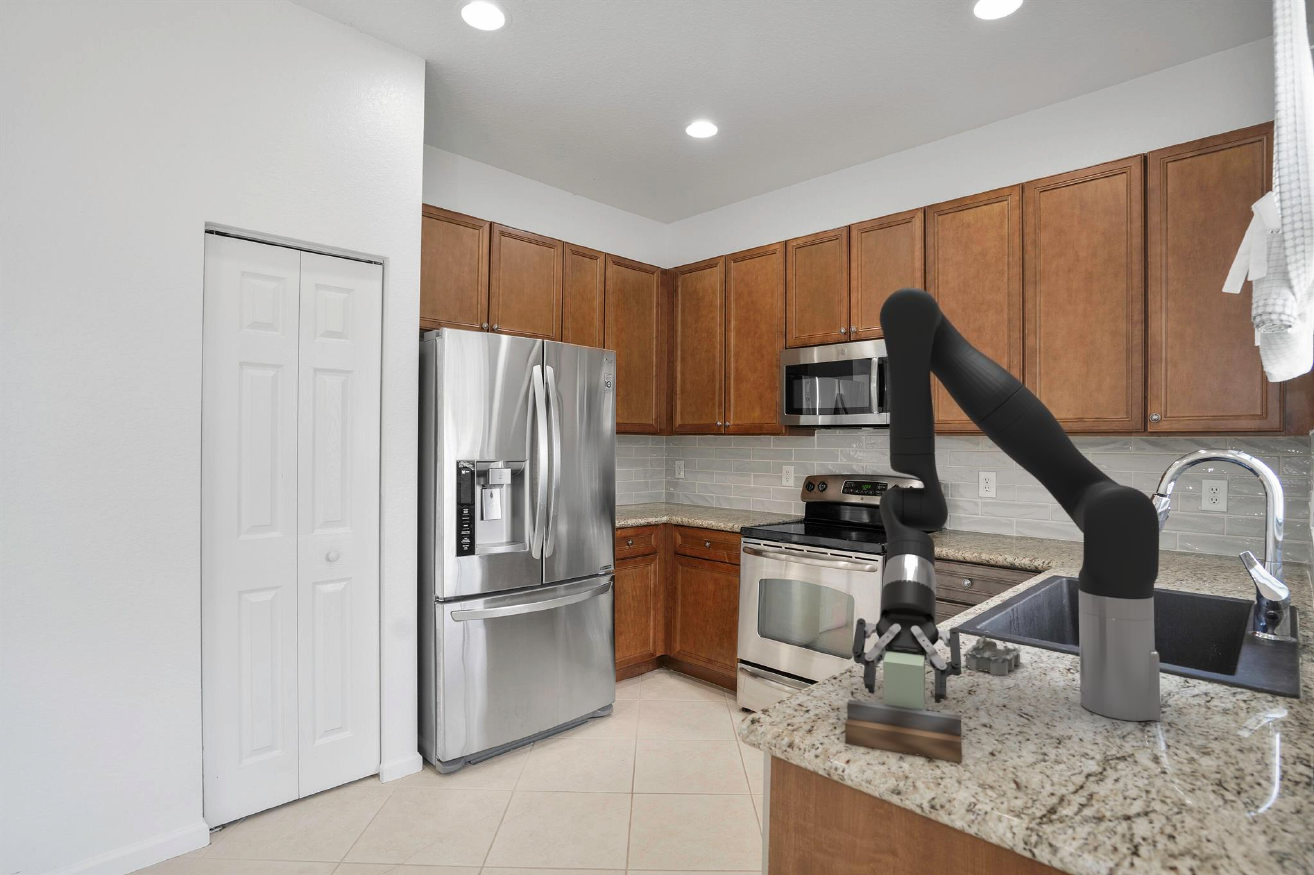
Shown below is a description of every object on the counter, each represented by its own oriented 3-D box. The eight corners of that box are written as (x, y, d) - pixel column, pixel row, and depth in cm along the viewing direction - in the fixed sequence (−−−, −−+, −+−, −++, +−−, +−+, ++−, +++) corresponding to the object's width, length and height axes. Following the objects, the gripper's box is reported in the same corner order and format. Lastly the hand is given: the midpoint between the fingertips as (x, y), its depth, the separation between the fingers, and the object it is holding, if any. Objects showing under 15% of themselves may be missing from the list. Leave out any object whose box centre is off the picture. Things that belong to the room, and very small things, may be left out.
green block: (925, 728, 92) (924, 655, 92) (924, 742, 88) (923, 666, 88) (887, 722, 94) (886, 650, 94) (883, 736, 90) (883, 661, 90)
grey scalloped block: (983, 656, 125) (983, 634, 126) (1027, 665, 120) (1026, 642, 120) (958, 668, 118) (958, 645, 118) (1003, 679, 113) (1003, 654, 113)
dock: (961, 729, 92) (961, 696, 92) (961, 762, 82) (961, 725, 83) (856, 713, 98) (856, 682, 98) (845, 742, 88) (844, 708, 88)
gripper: (856, 574, 101) (845, 674, 90) (960, 581, 95) (962, 690, 84) (862, 602, 106) (852, 700, 95) (961, 611, 100) (962, 717, 89)
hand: (903, 695), depth 90 cm, fingers open, 8 cm apart
